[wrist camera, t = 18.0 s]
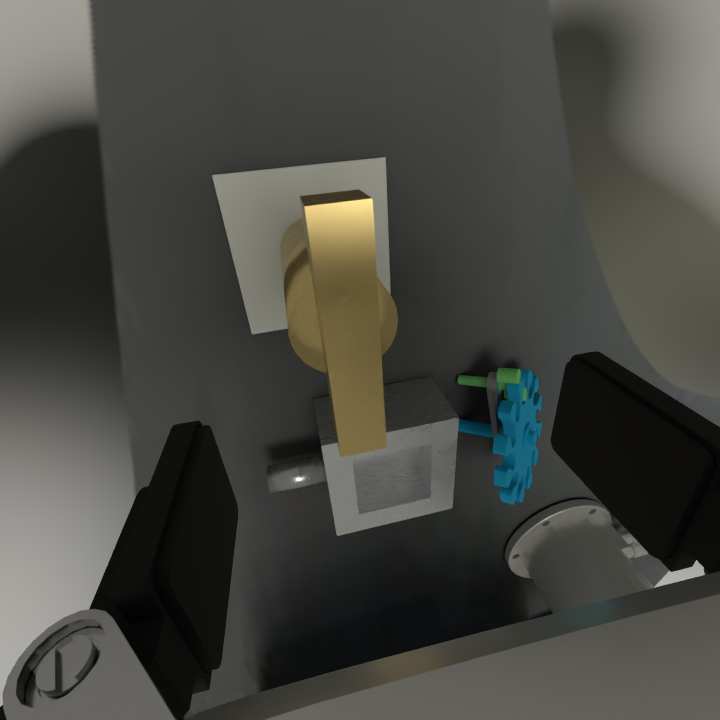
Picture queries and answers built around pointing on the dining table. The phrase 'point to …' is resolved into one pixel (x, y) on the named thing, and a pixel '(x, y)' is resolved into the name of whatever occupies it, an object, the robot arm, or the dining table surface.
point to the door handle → (340, 311)
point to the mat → (288, 224)
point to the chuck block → (384, 461)
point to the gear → (509, 426)
